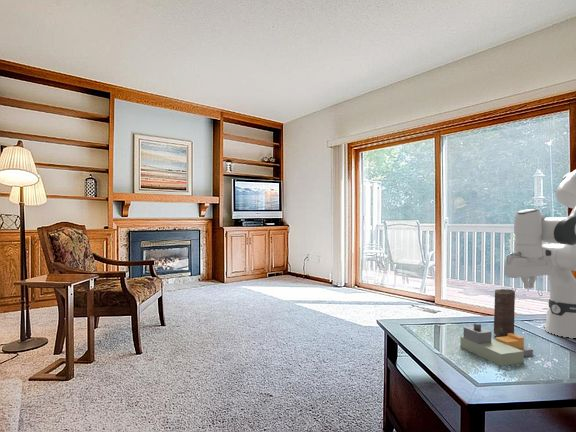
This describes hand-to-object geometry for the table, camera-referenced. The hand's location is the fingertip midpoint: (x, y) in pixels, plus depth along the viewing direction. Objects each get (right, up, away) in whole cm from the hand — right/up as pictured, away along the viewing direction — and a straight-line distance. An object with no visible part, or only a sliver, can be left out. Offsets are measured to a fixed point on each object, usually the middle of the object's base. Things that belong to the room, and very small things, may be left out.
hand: (528, 287), depth 132 cm
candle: (-1, -24, +13) cm, 27 cm away
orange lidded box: (-9, -24, -3) cm, 25 cm away
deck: (-13, -23, -4) cm, 27 cm away
